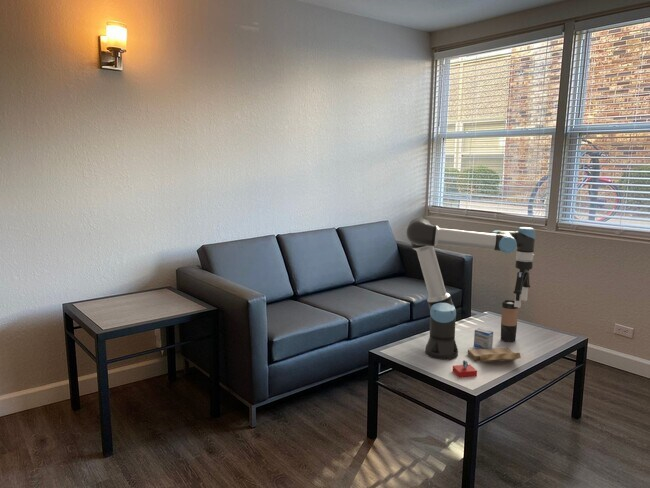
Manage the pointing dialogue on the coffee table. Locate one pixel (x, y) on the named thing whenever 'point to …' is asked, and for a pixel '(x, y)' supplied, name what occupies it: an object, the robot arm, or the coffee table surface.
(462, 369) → the red rectangular block
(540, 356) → the coffee table surface
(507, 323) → the travel mug
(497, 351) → the laid strip
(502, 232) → the robot arm
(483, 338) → the medicine box
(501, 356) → the plank
